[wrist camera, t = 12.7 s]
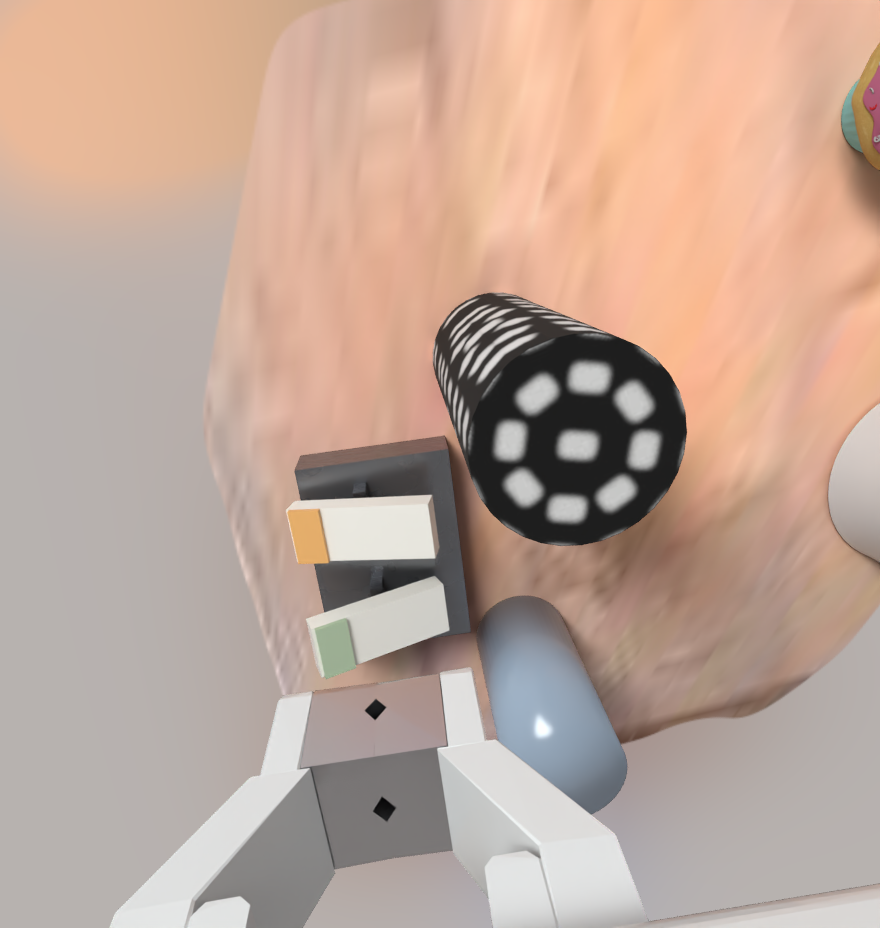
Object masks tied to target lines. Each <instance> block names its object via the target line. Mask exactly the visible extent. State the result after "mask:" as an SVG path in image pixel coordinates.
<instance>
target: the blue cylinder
mask: <svg viewBox="0 0 880 928" xmlns="http://www.w3.org/2000/svg"><path fill="white" fill-rule="evenodd" d="M476 640H477V646H478V651H479V655H480V660H481V665H482V669H483V674H484V678H485V683H486V687H487V692H488V696H489V701H490V706H491V710H492V715H493V719H494V724H495V728H496V733H497V738H498V741H499V742H501V743H502V744H503V745H504V746H506V747H507V748H508V749H509V750H511V751H512V752H513V753H514V754H516V755H517V756H518V757H519V758H521V759H522V760H523V761H524V762H526V763H527V764H528V765H529V766H531V767H532V768H533V769H534V770H536V771H537V772H538V773H539V774H541V775H542V776H543V777H544V778H546V779H547V780H548V781H549V782H551V783H552V784H553V785H554V786H556V787H557V788H558V789H559V790H561V791H562V792H563V793H564V794H566V795H567V796H568V797H569V798H571V799H572V800H573V801H574V802H576V803H577V804H578V805H579V806H581V807H582V808H583V809H584V810H586V811H587V812H588V813H589V814H593V813H595V812H596V811H599V810H600V809H602V808H603V807H605V806H606V805H607V804H608V803H610V802H611V801H612V800H613V799H614V798H615V797H616V795H617V794H618V792H619V791H620V790H621V788H622V786H623V784H624V781H625V779H626V774H627V760H626V756H625V753H624V751H623V749H622V746H621V744H620V742H619V740H618V738H617V736H616V733H615V731H614V729H613V727H612V725H611V723H610V720H609V718H608V716H607V714H606V712H605V710H604V708H603V705H602V703H601V701H600V699H599V697H598V695H597V692H596V690H595V688H594V686H593V684H592V682H591V679H590V677H589V675H588V673H587V671H586V669H585V666H584V664H583V662H582V660H581V658H580V656H579V653H578V651H577V649H576V647H575V645H574V643H573V640H572V638H571V636H570V634H569V632H568V630H567V627H566V625H565V623H564V621H563V619H562V617H561V615H560V613H559V612H558V610H557V609H556V608H555V607H554V606H553V605H552V604H550V603H549V602H547V601H545V600H543V599H541V598H537V597H533V596H516V597H511V598H508V599H505V600H503V601H501V602H499V603H497V604H496V605H494V606H493V607H492V608H490V609H489V610H488V611H487V612H486V614H485V615H484V616H483V618H482V619H481V621H480V623H479V626H478V629H477V635H476Z"/></svg>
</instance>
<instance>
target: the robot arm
mask: <svg viewBox="0 0 880 928" xmlns="http://www.w3.org/2000/svg"><path fill="white" fill-rule="evenodd" d="M828 502H829V509H830V514H831V517H832V520H833V523H834V525H835V527H836V529H837V531H838V532H839V534H840V535H841V537H842V538H843V539H844V540H845V541H846V542H847V543H848V544H849V545H850V546H851V547H853V548H854V549H855V550H857V551H859V552H860V553H862V554H865V555H867V556H869V557H871V558H873V559H874V560H876V561H878V562H879V563H880V403H879V404H878V405H876V406H875V407H874V408H873V409H872V410H870V411H869V412H868V413H867V414H866V415H865V416H864V417H863V418H862V419H861V420H860V421H859V423H858V424H857V425H856V426H855V427H854V429H853V430H852V431H851V433H850V434H849V435H848V437H847V438H846V440H845V442H844V443H843V445H842V447H841V449H840V451H839V453H838V455H837V457H836V460H835V462H834V465H833V468H832V472H831V476H830V481H829V489H828ZM440 679H441V682H440ZM441 687H442V688H441ZM445 851H453V853H454V855H455V856H456V858H457V859H458V860H459V861H460V863H461V864H462V865H463V867H464V868H465V869H466V871H467V872H468V873H469V874H470V876H471V877H472V878H473V880H474V881H475V882H476V883H477V885H478V886H479V887H480V889H481V890H482V891H483V893H484V894H485V895H486V896H487V898H488V899H489V906H490V913H491V921H492V928H880V884H873V885H867V886H861V887H855V888H849V889H843V890H837V891H831V892H825V893H819V894H813V895H806V896H800V897H795V898H788V899H782V900H776V901H770V902H764V903H758V904H752V905H746V906H740V907H734V908H727V909H721V910H715V911H709V912H703V913H697V914H691V915H685V916H679V917H673V918H667V919H660V920H654V921H649V920H648V918H647V915H646V913H645V910H644V908H643V905H642V902H641V900H640V897H639V895H638V892H637V889H636V887H635V884H634V881H633V879H632V876H631V874H630V871H629V868H628V866H627V863H626V861H625V858H624V855H623V853H622V850H621V848H620V845H619V843H618V840H617V837H616V835H615V834H614V833H613V832H612V831H611V830H609V829H608V828H607V827H606V826H604V825H603V824H601V823H600V822H599V821H598V820H597V819H596V818H594V817H593V816H592V815H591V814H589V813H588V812H587V811H586V810H584V809H583V808H582V807H581V806H579V805H578V804H577V803H576V802H574V801H573V800H572V799H571V798H569V797H568V796H567V795H566V794H564V793H563V792H562V791H561V790H559V789H558V788H557V787H556V786H554V785H553V784H552V783H551V782H549V781H548V780H547V779H546V778H544V777H543V776H542V775H541V774H539V773H538V772H537V771H536V770H534V769H533V768H532V767H531V766H529V765H528V764H527V763H526V762H524V761H523V760H522V759H521V758H519V757H518V756H517V755H516V754H514V753H513V752H512V751H511V750H509V749H508V748H507V747H506V746H504V745H503V744H502V743H501V742H499V741H498V740H496V739H495V740H488V741H487V738H486V733H485V728H484V723H483V718H482V713H481V708H480V703H479V698H478V693H477V688H476V683H475V678H474V673H473V670H472V669H471V667H467V668H462V669H456V670H451V671H445V672H440V675H439V674H434V675H428V676H421V677H415V678H408V679H402V680H395V681H389V682H382V683H371V684H364V685H356V686H348V687H340V688H332V689H324V690H316V691H315V692H313V691H310V692H303V693H296V694H289V695H283V696H282V697H281V699H280V700H279V702H278V705H277V709H276V713H275V717H274V721H273V725H272V729H271V733H270V737H269V742H268V745H267V749H266V754H265V758H264V762H263V766H262V770H261V774H260V776H254V777H250V778H249V779H248V780H247V781H246V782H245V783H244V784H243V785H242V786H241V787H240V788H239V789H238V790H237V791H236V792H235V793H234V794H233V795H232V796H231V797H230V798H229V799H228V800H227V801H226V802H225V803H224V804H223V805H222V806H221V807H220V808H219V809H218V810H217V811H216V812H215V813H214V814H213V815H212V816H211V817H210V818H209V819H208V820H207V822H205V823H204V824H203V825H202V826H201V827H200V828H199V829H198V830H197V831H196V832H195V833H194V834H193V836H191V837H190V838H189V839H188V840H187V841H186V842H185V843H184V845H182V846H181V847H180V848H179V849H178V850H177V851H176V852H175V854H173V855H172V856H171V857H170V859H168V861H167V862H166V863H165V864H164V865H163V866H162V867H161V868H160V869H159V870H158V871H157V872H156V873H155V874H154V875H153V876H152V877H151V878H150V879H149V880H148V881H147V882H146V883H145V884H144V885H143V886H142V887H141V888H140V889H139V890H138V891H137V892H136V893H135V894H134V895H133V896H132V897H131V898H130V899H129V900H128V901H127V902H126V903H125V904H124V905H123V906H122V907H121V908H120V909H119V910H118V911H117V912H116V913H115V916H114V918H113V920H112V923H111V925H110V927H109V928H303V926H304V925H305V923H306V921H307V920H308V918H309V916H310V914H311V913H312V911H313V909H314V908H315V906H316V904H317V903H318V901H319V899H320V898H321V896H322V894H323V893H324V891H325V889H326V888H327V886H328V884H329V882H330V881H331V879H332V877H333V876H334V874H335V871H334V869H339V868H344V867H350V866H354V865H360V864H365V863H370V862H376V861H381V860H386V859H392V858H399V857H405V856H414V855H422V854H429V853H437V852H445Z"/></svg>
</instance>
